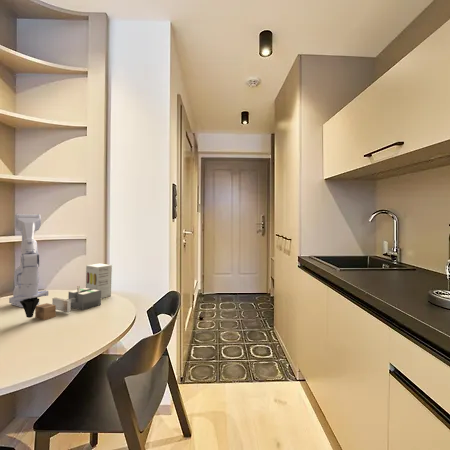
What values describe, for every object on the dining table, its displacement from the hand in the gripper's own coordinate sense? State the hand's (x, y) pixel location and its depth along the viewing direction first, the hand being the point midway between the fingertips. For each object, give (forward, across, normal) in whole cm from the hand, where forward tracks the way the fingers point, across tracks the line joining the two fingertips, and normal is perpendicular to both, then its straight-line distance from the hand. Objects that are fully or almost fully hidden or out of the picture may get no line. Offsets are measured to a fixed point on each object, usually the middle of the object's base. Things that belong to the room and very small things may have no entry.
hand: (29, 316), depth 127 cm
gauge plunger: (+1, +18, 0) cm, 19 cm away
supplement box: (+2, +42, +8) cm, 42 cm away
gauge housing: (+2, +26, 0) cm, 26 cm away
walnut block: (+2, +7, 0) cm, 7 cm away
